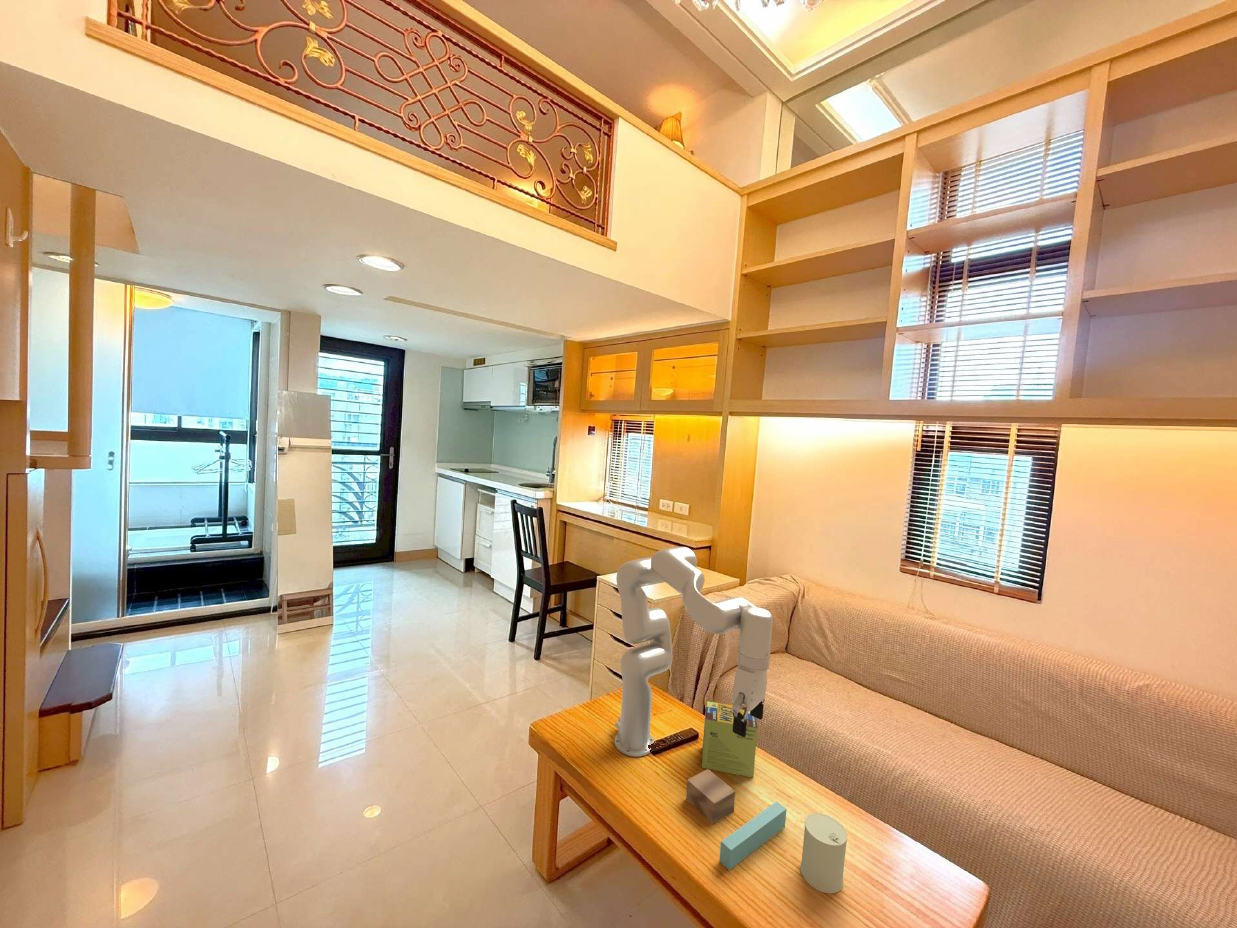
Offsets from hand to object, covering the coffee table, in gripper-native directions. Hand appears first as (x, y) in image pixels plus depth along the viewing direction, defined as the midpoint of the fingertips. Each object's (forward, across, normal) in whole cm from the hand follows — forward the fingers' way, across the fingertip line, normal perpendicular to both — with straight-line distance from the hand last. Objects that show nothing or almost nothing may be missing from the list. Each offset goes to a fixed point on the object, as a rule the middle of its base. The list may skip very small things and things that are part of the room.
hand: (747, 725), depth 122 cm
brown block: (+29, -3, -10) cm, 31 cm away
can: (+29, -3, +19) cm, 35 cm away
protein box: (+29, -23, -15) cm, 40 cm away
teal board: (+29, 0, +4) cm, 29 cm away
